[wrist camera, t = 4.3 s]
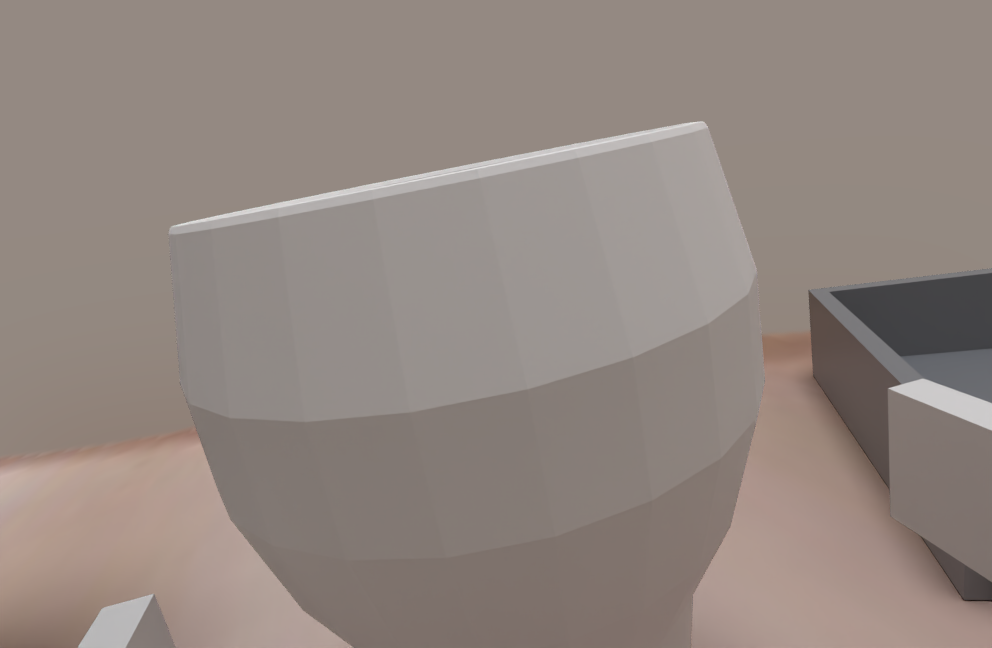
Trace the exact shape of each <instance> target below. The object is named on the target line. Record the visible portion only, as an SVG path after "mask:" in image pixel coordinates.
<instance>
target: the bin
mask: <svg viewBox="0 0 992 648" xmlns="http://www.w3.org/2000/svg"><path fill="white" fill-rule="evenodd" d="M809 309H810V327H811V345H812V363H813V376H814V377H815V379H816V380H817V382H818V383H819V385H820V386H821V388H822V389H823V391H824V392H825V394H826V395H827V397H828V398H829V400H830V401H831V403H832V404H833V406H834V407H835V408H836V410H837V411H838V413H839V414H840V416H841V417H842V419H843V420H844V422H845V423H846V425H847V426H848V428H849V429H850V431H851V432H852V434H853V435H854V437H855V438H856V440H857V441H858V443H859V444H860V446H861V447H862V449H863V450H864V452H865V453H866V455H867V456H868V458H869V459H870V461H871V462H872V464H873V465H874V467H875V468H876V470H877V471H878V473H879V474H880V476H881V477H882V478H883V480H884V481H885V483H886V484H887V486H888V487H889V489H890V476H889V427H888V388H891V387H894V386H898V385H901V384H905V383H909V382H912V381H916V380H919V379H926V380H929V381H932V382H935V383H937V384H940V385H943V386H946V387H948V388H951V389H954V390H957V391H959V392H962V393H965V394H968V395H971V396H973V397H976V398H979V399H982V400H984V401H987V402H990V403H992V268H991V269H982V270H974V271H965V272H957V273H948V274H940V275H932V276H923V277H915V278H906V279H898V280H889V281H881V282H872V283H864V284H855V285H847V286H838V287H830V288H821V289H813V290H809ZM921 537H922V536H921ZM922 538H923V537H922ZM923 540H924V541H925V543H926V544H927V546H928V547H929V548H930V550H931V551H932V553H933V554H934V556H935V557H936V559H937V560H938V562H939V563H940V565H941V566H942V568H943V569H944V571H945V572H946V574H947V575H948V577H949V578H950V580H951V581H952V583H953V584H954V586H955V587H956V589H957V590H958V592H959V593H960V595H961V596H962V598H963V599H964V600H992V582H991V581H989V580H988V579H986V578H985V577H983V576H982V575H980V574H979V573H977V572H975V571H974V570H972V569H971V568H969V567H968V566H966V565H965V564H963V563H962V562H960V561H959V560H957V559H955V558H954V557H952V556H951V555H949V554H948V553H946V552H945V551H943V550H942V549H940V548H939V547H937V546H935V545H934V544H932V543H931V542H929V541H928V540H926V539H925V538H923Z"/></svg>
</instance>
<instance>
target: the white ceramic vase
mask: <svg viewBox="0 0 992 648" xmlns="http://www.w3.org/2000/svg"><path fill="white" fill-rule="evenodd" d="M169 246H170V260H171V271H172V285H173V298H174V310H175V323H176V336H177V349H178V361H179V374H180V385H181V387H182V390H183V393H184V396H185V399H186V402H187V404H188V407H189V410H190V413H191V416H192V418H193V421H194V424H195V427H196V430H197V432H198V435H199V438H200V441H201V444H202V446H203V449H204V452H205V455H206V458H207V460H208V463H209V466H210V469H211V472H212V474H213V477H214V480H215V483H216V486H217V488H218V491H219V493H220V496H221V498H222V500H223V503H224V505H225V507H226V510H227V512H228V514H229V517H230V519H231V521H232V522H233V523H234V524H235V526H236V527H237V528H238V529H239V531H240V532H241V533H242V534H243V536H244V537H245V538H246V539H247V541H248V542H249V543H250V544H251V546H252V547H253V548H254V549H255V551H256V552H257V553H258V554H259V556H260V557H261V558H262V559H263V561H264V562H265V563H266V564H267V566H268V567H269V568H270V569H271V571H272V572H273V573H274V574H275V576H276V577H277V578H278V579H279V581H280V582H281V583H282V584H283V586H284V587H285V588H286V589H287V591H288V592H289V593H290V594H291V596H292V597H293V598H294V599H295V601H296V602H297V603H298V604H299V606H300V607H301V608H302V609H303V610H304V611H305V612H306V613H308V614H309V615H310V616H312V617H313V618H314V619H316V620H317V621H318V622H320V623H321V624H322V625H324V626H325V627H327V628H328V629H329V630H331V631H332V632H333V633H335V634H336V635H337V636H339V637H340V638H341V639H343V640H344V641H346V642H347V643H348V644H350V645H351V646H352V647H354V648H691V632H692V608H693V594H694V592H695V590H696V588H697V586H698V584H699V583H700V581H701V579H702V577H703V575H704V574H705V572H706V570H707V568H708V566H709V564H710V563H711V561H712V559H713V557H714V555H715V554H716V552H717V550H718V548H719V546H720V545H721V543H722V541H723V539H724V537H725V535H726V534H727V532H728V530H729V528H730V526H731V522H732V518H733V514H734V510H735V506H736V502H737V498H738V494H739V490H740V486H741V482H742V478H743V474H744V469H745V465H746V461H747V457H748V453H749V449H750V445H751V441H752V437H753V433H754V429H755V425H756V421H757V417H758V413H759V408H760V403H761V398H762V393H763V388H764V384H765V374H764V361H763V347H762V333H761V319H760V305H759V292H758V277H757V269H756V266H755V264H754V260H753V257H752V254H751V252H750V249H749V246H748V243H747V240H746V237H745V234H744V231H743V228H742V225H741V222H740V220H739V216H738V214H737V211H736V208H735V205H734V202H733V199H732V196H731V193H730V190H729V187H728V184H727V181H726V178H725V175H724V173H723V169H722V167H721V164H720V161H719V158H718V155H717V152H716V149H715V146H714V143H713V140H712V137H711V135H710V131H709V128H708V127H707V125H706V124H705V123H704V122H692V123H685V124H680V125H674V126H668V127H663V128H657V129H652V130H646V131H641V132H635V133H630V134H625V135H619V136H614V137H609V138H603V139H598V140H593V141H588V142H583V143H577V144H572V145H567V146H562V147H557V148H551V149H546V150H541V151H536V152H531V153H526V154H521V155H516V156H511V157H506V158H500V159H495V160H490V161H485V162H480V163H475V164H470V165H465V166H460V167H455V168H449V169H445V170H440V171H434V172H430V173H424V174H419V175H414V176H409V177H405V178H399V179H394V180H389V181H385V182H379V183H374V184H370V185H365V186H359V187H354V188H349V189H345V190H340V191H335V192H330V193H325V194H320V195H315V196H310V197H305V198H300V199H295V200H291V201H286V202H281V203H276V204H271V205H266V206H261V207H257V208H252V209H247V210H242V211H237V212H232V213H228V214H223V215H218V216H214V217H209V218H204V219H200V220H195V221H191V222H188V223H183V224H179V225H175V226H172V227H170V231H169Z"/></svg>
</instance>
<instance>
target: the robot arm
mask: <svg viewBox="0 0 992 648" xmlns="http://www.w3.org/2000/svg"><path fill="white" fill-rule="evenodd" d="M888 427H889V476H890V516H891V517H892V518H894V519H895V520H897V521H899V522H900V523H902V524H903V525H905V526H906V527H908V528H909V529H911V530H912V531H914V532H915V533H917V534H919V535H920V536H922V537H923V538H925V539H926V540H928V541H929V542H931V543H932V544H934V545H935V546H937V547H939V548H940V549H942V550H943V551H945V552H946V553H948V554H949V555H951V556H952V557H954V558H955V559H957V560H959V561H960V562H962V563H963V564H965V565H966V566H968V567H969V568H971V569H972V570H974V571H975V572H977V573H979V574H980V575H982V576H983V577H985V578H986V579H988V580H989V581H991V582H992V403H990V402H987V401H984V400H982V399H979V398H976V397H973V396H971V395H968V394H965V393H962V392H959V391H957V390H954V389H951V388H948V387H946V386H943V385H940V384H937V383H935V382H932V381H929V380H926V379H919V380H916V381H912V382H909V383H905V384H901V385H898V386H894V387H891V388H888ZM78 648H176V647H175V644H174V642H173V639H172V637H171V634H170V632H169V629H168V627H167V624H166V622H165V619H164V617H163V614H162V612H161V609H160V607H159V604H158V602H157V599H156V597H155V594H151V595H147V596H144V597H140V598H137V599H133V600H129V601H126V602H122V603H119V604H115V605H112V606H108V607H104V608H102V610H101V611H100V613H99V614H98V616H97V618H96V619H95V621H94V622H93V624H92V625H91V627H90V629H89V630H88V632H87V633H86V635H85V637H84V638H83V640H82V641H81V643H80V644H79V646H78Z"/></svg>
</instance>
